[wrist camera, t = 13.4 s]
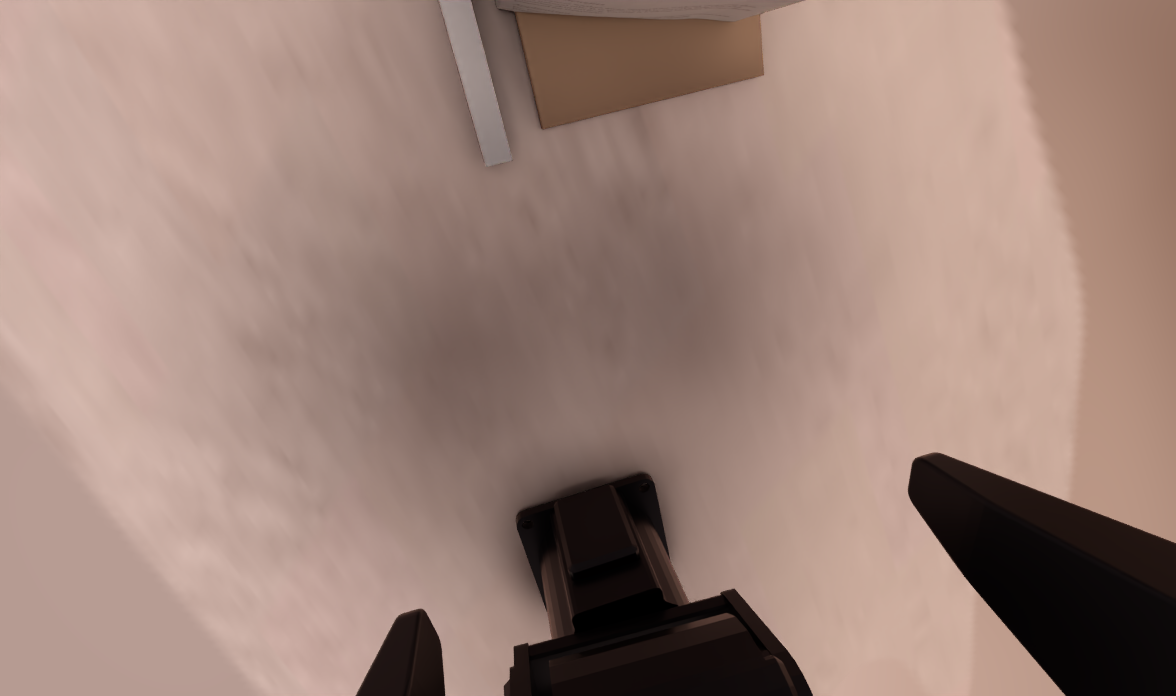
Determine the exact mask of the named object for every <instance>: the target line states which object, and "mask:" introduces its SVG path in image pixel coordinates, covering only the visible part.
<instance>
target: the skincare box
mask: <svg viewBox="0 0 1176 696" xmlns="http://www.w3.org/2000/svg"><path fill="white" fill-rule="evenodd" d="M801 1H804V0H495V4H496V6H497V8H498V9H504V10H509V11H515V12H529V13H544V14H559V15H574V16H593V17H616V18H641V19H695V18H697V19H709V20H718V21H730V22H735V21H738V20H742V19H745V18H748V17H751V16H755V15H758V14H762V13H765V12H768V11H771V10H775V9H778V8H781V7H784V6H788V5H791V4H795V3H798V2H801Z"/></svg>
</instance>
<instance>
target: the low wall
mask: <svg viewBox="0 0 1176 696" xmlns="http://www.w3.org/2000/svg"><path fill="white" fill-rule="evenodd" d="M438 1H439V5H440V8H441V12H442V16H443V19H444V23H445V26H446V30H447V33H448V37H449V40H450V44H451V47H452V51H453V54H454V58H455V61H456V65H457V68H458V72H459V75H460V79H461V82H462V86H463V89H464V93H465V96H466V100H467V103H468V107H469V111H470V114H471V118H472V121H473V125H474V128H475V132H476V135H477V139H478V142H479V146H480V149H481V153H482V156H483V160H484V162H485V165H486V167H489V166H493V165H497V164H501V163H505V162H509V161H513V159H512V155H511V152H510V148H509V144H508V140H507V136H506V132H505V129H504V125H503V121H502V117H501V113H500V110H499V106H498V102H497V98H496V94H495V90H494V87H493V83H492V79H491V75H490V71H489V68H488V64H487V60H486V56H485V52H484V49H483V45H482V41H481V37H480V33H479V29H478V26H477V22H476V18H475V14H474V10H473V7H472V3H471V0H438Z"/></svg>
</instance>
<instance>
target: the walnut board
mask: <svg viewBox="0 0 1176 696" xmlns="http://www.w3.org/2000/svg"><path fill="white" fill-rule="evenodd" d="M514 12H515V11H514ZM515 17H516V21H517V25H518V29H519V34H520V38H521V42H522V46H523V51H524V55H525V59H526V64H527V68H528V72H529V76H530V81H531V85H532V89H533V93H534V98H535V102H536V106H537V110H538V115H539V119H540V123H541V128H542V129H546V128H550V127H554V126H558V125H562V124H566V123H570V122H574V121H579V120H583V119H587V118H591V117H595V116H599V115H603V114H607V113H611V112H615V111H619V110H623V109H627V108H631V107H636V106H640V105H644V104H648V103H652V102H656V101H660V100H664V99H668V98H672V97H676V96H680V95H684V94H689V93H693V92H697V91H701V90H705V89H709V88H713V87H717V86H721V85H725V84H729V83H733V82H737V81H742V80H746V79H750V78H754V77H758V76H762V75H764V68H763V53H762V38H761V23H760V14H758V15H755V16H751V17H748V18H745V19H742V20H738V21H735V22H730V21H718V20H709V19H697V18H695V19H641V18H616V17H593V16H574V15H559V14H544V13H529V12H515Z"/></svg>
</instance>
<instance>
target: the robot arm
mask: <svg viewBox="0 0 1176 696" xmlns="http://www.w3.org/2000/svg"><path fill="white" fill-rule="evenodd" d="M643 483H647V484H646V485H645V486H643V487H640V485H642V484H643ZM908 494H909V497H910V500H911V502H912V503H913V505H914V506H915V508H916V509H917V511H918V512H919V513H920V515H921V516H922V518H923V519H924V521H925V522H926V523H927V525H928V526H929V528H930V529H931V531H932V532H933V533H934V535H935V536H936V538H937V539H938V540H939V542H940V543H941V545H942V546H943V548H944V549H945V550H946V552H947V553H948V555H949V556H950V557H951V559H952V560H953V562H954V563H955V565H956V566H957V567H958V569H959V570H960V571H961V573H962V574H963V575H964V577H965V578H966V579H967V580H968V582H969V583H970V584H971V585H972V586H973V588H974V589H975V590H976V591H977V592H978V594H979V595H980V596H981V597H982V598H983V599H984V601H985V602H986V603H987V604H988V605H989V606H990V608H991V609H992V610H993V611H994V612H995V613H996V615H997V616H998V617H999V618H1000V619H1001V620H1002V622H1003V623H1004V624H1005V625H1006V626H1007V628H1008V629H1009V630H1010V631H1011V632H1012V633H1013V635H1014V636H1015V637H1016V638H1017V639H1018V640H1019V642H1020V643H1021V644H1022V645H1023V646H1024V647H1025V649H1026V650H1027V651H1028V652H1029V653H1030V655H1031V656H1032V657H1033V658H1034V659H1035V660H1036V662H1037V663H1038V664H1039V665H1040V666H1041V667H1042V669H1043V670H1044V671H1045V672H1046V673H1047V674H1048V676H1049V677H1050V678H1051V679H1052V680H1053V682H1054V683H1055V684H1056V685H1057V686H1058V687H1059V689H1060V690H1061V691H1062V692H1063V693H1064V694H1065V696H1176V543H1174V542H1171V541H1169V540H1166V539H1163V538H1161V537H1158V536H1156V535H1153V534H1150V533H1148V532H1145V531H1143V530H1140V529H1137V528H1134V527H1132V526H1129V525H1127V524H1124V523H1121V522H1119V521H1116V520H1114V519H1111V518H1109V517H1106V516H1103V515H1101V514H1098V513H1096V512H1093V511H1090V510H1088V509H1085V508H1082V507H1080V506H1077V505H1075V504H1072V503H1069V502H1067V501H1064V500H1062V499H1059V498H1056V497H1054V496H1051V495H1049V494H1046V493H1043V492H1041V491H1038V490H1036V489H1033V488H1030V487H1028V486H1025V485H1022V484H1020V483H1017V482H1015V481H1012V480H1009V479H1007V478H1004V477H1002V476H999V475H996V474H994V473H991V472H989V471H986V470H983V469H981V468H978V467H976V466H973V465H970V464H968V463H965V462H962V461H960V460H957V459H955V458H952V457H949V456H947V455H944V454H941V453H930V454H926V455H923V456H920V457H917V458H915V459H914V461H913V463H912V467H911V473H910V479H909V485H908ZM526 520H530V521H531V522H529V523H523V522H524V521H526ZM516 524H517V530H518V532H519V535H520V538H521V541H522V544H523V546H524V549H525V552H526V555H527V558H528V560H529V563H530V566H531V569H532V571H533V574H534V577H535V580H536V583H537V585H538V588H539V591H540V594H541V596H542V599H543V602H544V605H545V608H546V610H547V612H548V618H549V624H550V631H551V637H552V639H551V640H548V641H544V642H540V643H536V644H532V645H528V643H525V644H521V645H518V646H514V666H513V667H510V680H509V681H508V682H507V683H506V684H505V685H504V696H813V694H812V692H811V690H810V688H809V686H808V684H807V682H806V680H805V678H804V676H803V674H802V672H801V670H800V668H799V667H798V665H797V663H796V662H795V660H794V659H793V657H792V656H791V655H790V653H789V652H788V651H787V650H786V648H785V647H784V646H783V645H782V644H781V643H780V641H779V640H778V639H777V638H776V637H775V635H774V634H773V633H772V632H771V631H770V630H769V628H768V627H767V626H766V625H765V624H764V623H763V621H762V620H761V619H760V618H759V617H758V616H757V614H756V613H755V612H754V611H753V610H752V609H751V607H750V606H749V605H748V604H747V603H746V602H745V600H744V599H743V598H742V597H741V596H740V595H739V593H738V592H737V591H736V590H735V589H731V590H727V591H723V592H721V595H718V596H714V597H711V598H707V599H703V600H699V601H695V602H692V603H689V601H688V599H687V597H686V595H685V592H684V590H683V588H682V586H681V584H680V581H679V579H678V577H677V575H676V573H675V570H674V568H673V566H672V564H671V562H670V557H669V552H668V547H667V542H666V537H665V533H664V528H663V523H662V518H661V513H660V508H659V503H658V498H657V493H656V489H655V484H654V482H653V480H652V478H651V476H649V475H648V474H639V475H636V476H632V477H629V478H626V479H623V480H620V481H616V482H613V483H610V484H607V485H604V486H601V487H597V488H594V489H591V490H588V491H585V492H581V493H578V494H575V495H572V496H569V497H565V498H562V499H559V500H556V501H553V502H550V503H546V504H543V505H540V506H537V507H534V508H530V509H527V510H524V511H522V512H520V513H519V514H518V515H517V517H516ZM356 696H445V685H444V672H443V660H442V648H441V643H440V639H439V636H438V634H437V632H436V630H435V628H434V627H433V625H432V623H431V621H430V619H429V617H428V615H427V613H426V612H425V611H424V610H423V609H416V610H413V611H410V612H406V613H403V614H401V615H399V616H398V617H397V618H396V620H395V621H394V623H393V625H392V627H391V629H390V631H389V633H388V635H387V637H386V639H385V640H384V642H383V644H382V646H381V648H380V650H379V652H378V654H377V656H376V658H375V660H374V662H373V664H372V665H371V667H370V669H369V671H368V673H367V675H366V677H365V679H364V681H363V683H362V685H361V687H360V688H359V690H358V692H357V694H356Z"/></svg>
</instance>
